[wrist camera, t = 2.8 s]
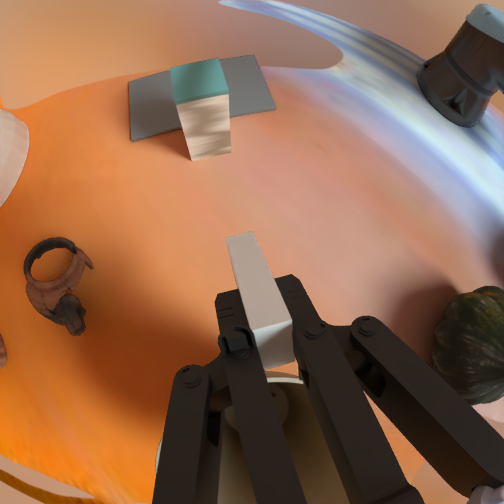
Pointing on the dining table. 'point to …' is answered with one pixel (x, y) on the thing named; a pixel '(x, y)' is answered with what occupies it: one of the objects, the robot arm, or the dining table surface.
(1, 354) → the cupcake
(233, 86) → the mat
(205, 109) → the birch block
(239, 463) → the plant pot
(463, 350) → the squash
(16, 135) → the kettle
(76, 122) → the dining table surface
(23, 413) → the dining table surface
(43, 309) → the vr controller
